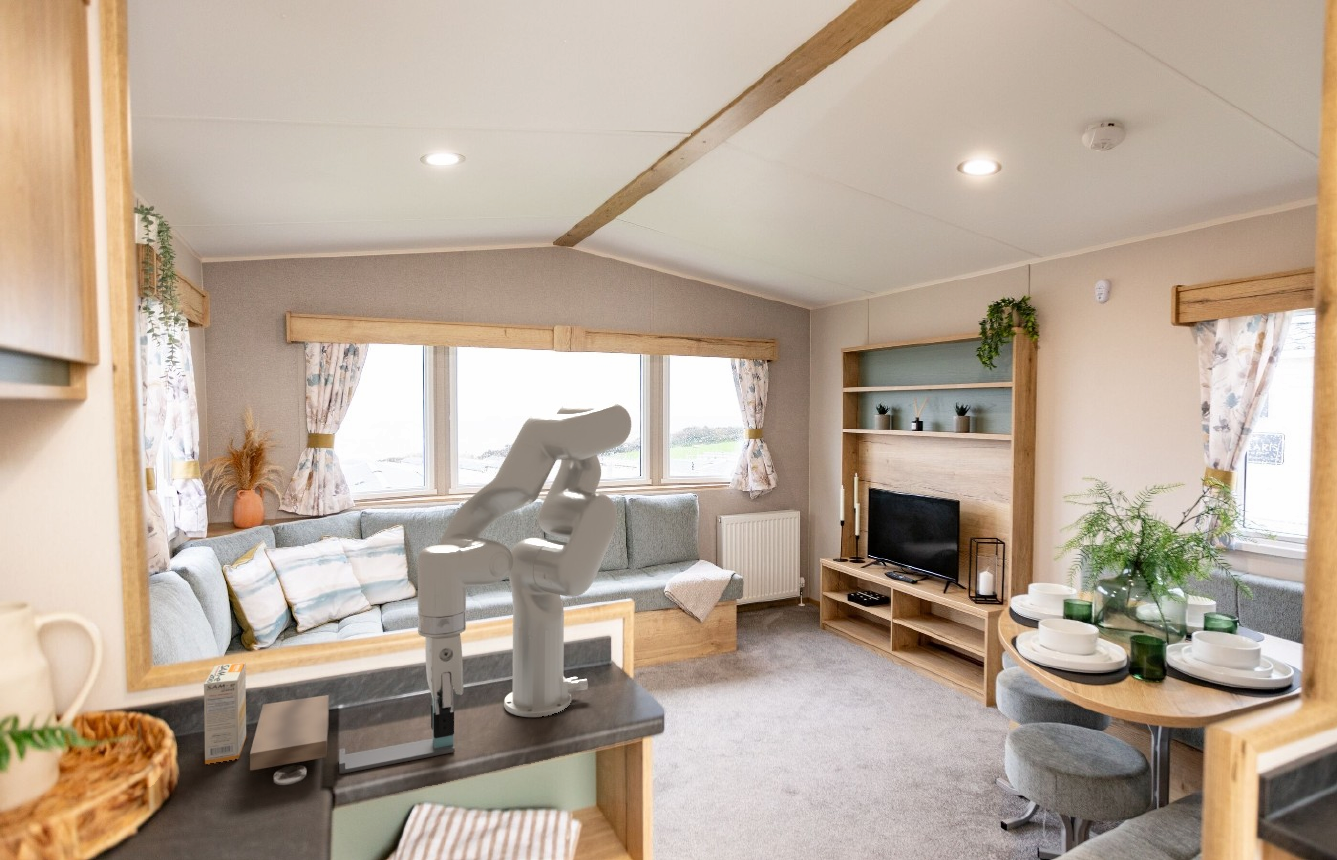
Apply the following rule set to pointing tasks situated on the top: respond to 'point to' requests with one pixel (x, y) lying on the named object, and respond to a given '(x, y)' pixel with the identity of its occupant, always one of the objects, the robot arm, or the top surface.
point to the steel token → (290, 775)
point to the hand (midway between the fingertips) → (442, 731)
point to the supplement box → (225, 712)
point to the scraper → (395, 753)
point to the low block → (291, 732)
